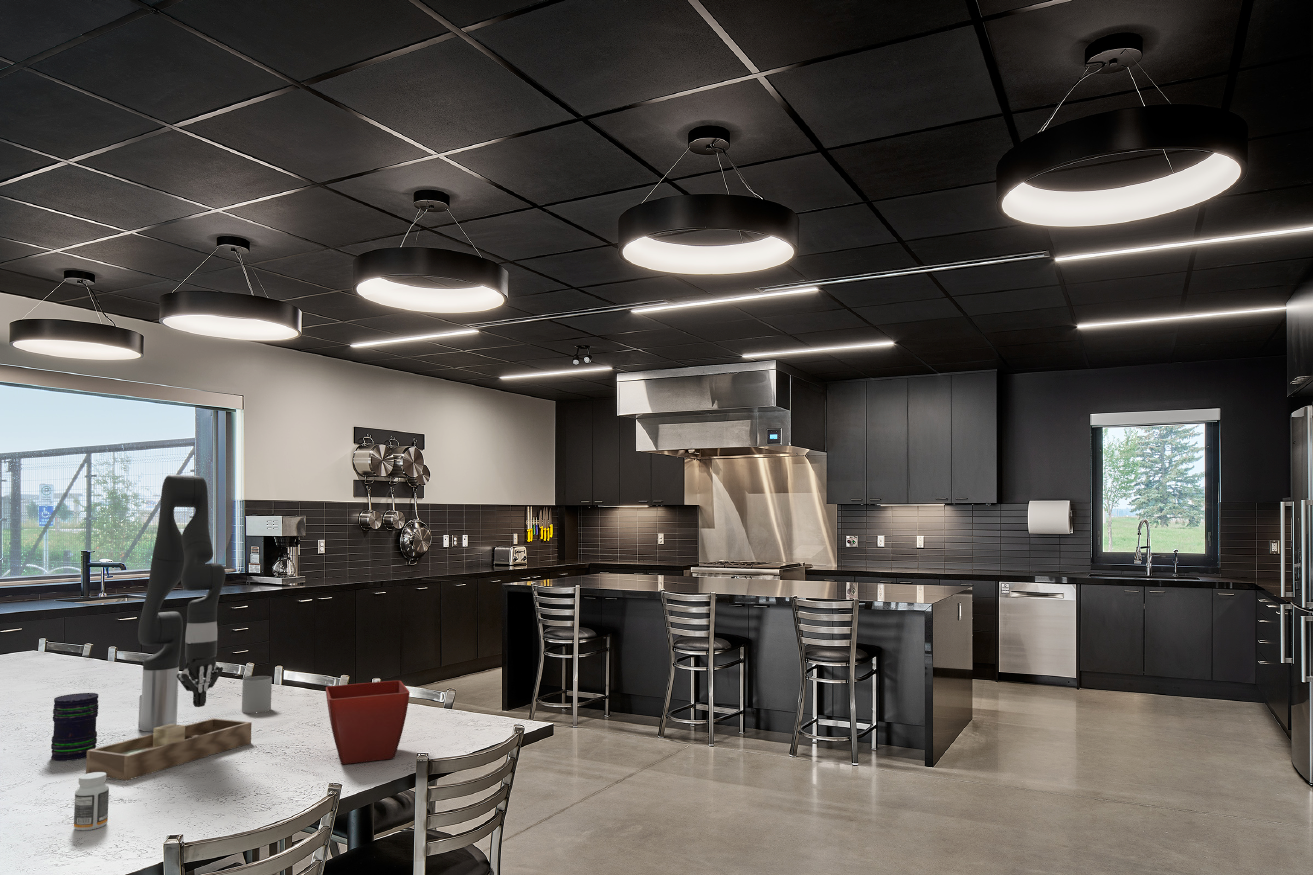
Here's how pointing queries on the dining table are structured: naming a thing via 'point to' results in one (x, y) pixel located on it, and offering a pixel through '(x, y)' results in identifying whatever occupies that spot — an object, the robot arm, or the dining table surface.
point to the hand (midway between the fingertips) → (199, 706)
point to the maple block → (168, 734)
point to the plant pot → (367, 719)
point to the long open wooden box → (167, 749)
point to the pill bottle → (91, 802)
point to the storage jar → (74, 726)
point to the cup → (256, 694)
